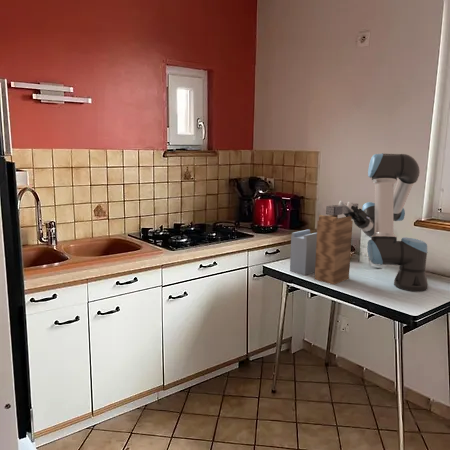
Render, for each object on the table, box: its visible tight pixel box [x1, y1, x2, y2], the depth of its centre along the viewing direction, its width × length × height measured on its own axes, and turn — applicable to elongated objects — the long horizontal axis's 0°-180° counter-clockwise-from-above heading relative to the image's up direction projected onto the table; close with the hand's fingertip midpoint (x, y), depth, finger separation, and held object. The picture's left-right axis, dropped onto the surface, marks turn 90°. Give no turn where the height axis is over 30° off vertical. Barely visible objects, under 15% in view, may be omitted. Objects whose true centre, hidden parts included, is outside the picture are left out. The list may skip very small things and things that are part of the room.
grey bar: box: [325, 202, 359, 216], centre depth 229 cm, size 5×22×4 cm, turn 133°
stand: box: [314, 214, 354, 285], centre depth 228 cm, size 11×14×33 cm
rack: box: [289, 229, 317, 276], centre depth 243 cm, size 10×14×21 cm
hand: (343, 203), depth 229 cm, fingers closed on grey bar, 4 cm apart
